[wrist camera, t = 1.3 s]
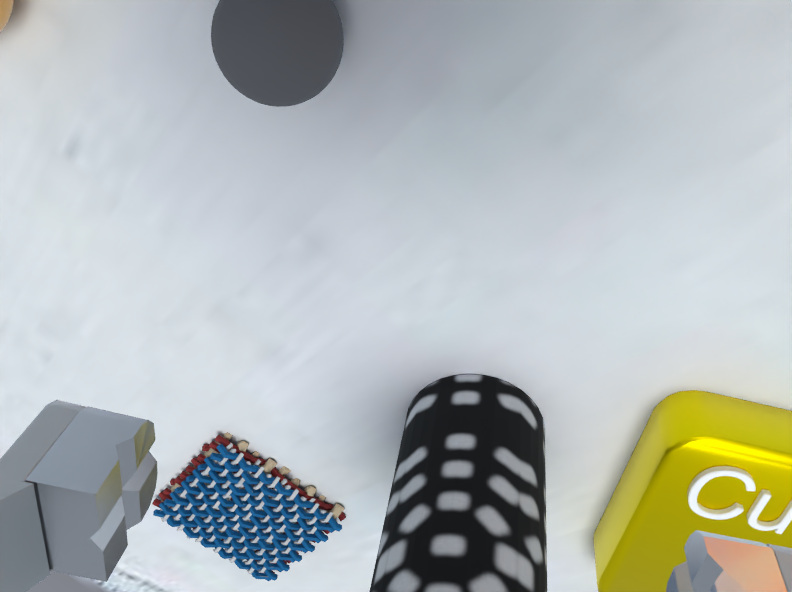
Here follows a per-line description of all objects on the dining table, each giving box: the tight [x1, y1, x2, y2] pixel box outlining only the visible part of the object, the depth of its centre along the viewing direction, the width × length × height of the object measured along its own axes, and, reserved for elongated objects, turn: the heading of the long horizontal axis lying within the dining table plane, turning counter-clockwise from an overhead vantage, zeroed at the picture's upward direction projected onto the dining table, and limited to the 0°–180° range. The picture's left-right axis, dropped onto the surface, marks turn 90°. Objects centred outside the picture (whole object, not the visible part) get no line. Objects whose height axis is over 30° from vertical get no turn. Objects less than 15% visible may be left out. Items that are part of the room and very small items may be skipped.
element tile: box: [594, 390, 792, 592], centre depth 44 cm, size 15×15×5 cm
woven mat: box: [152, 432, 346, 581], centre depth 52 cm, size 10×11×2 cm
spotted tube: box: [370, 374, 547, 592], centre depth 37 cm, size 8×8×20 cm
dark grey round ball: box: [211, 0, 343, 106], centre depth 32 cm, size 6×6×6 cm
